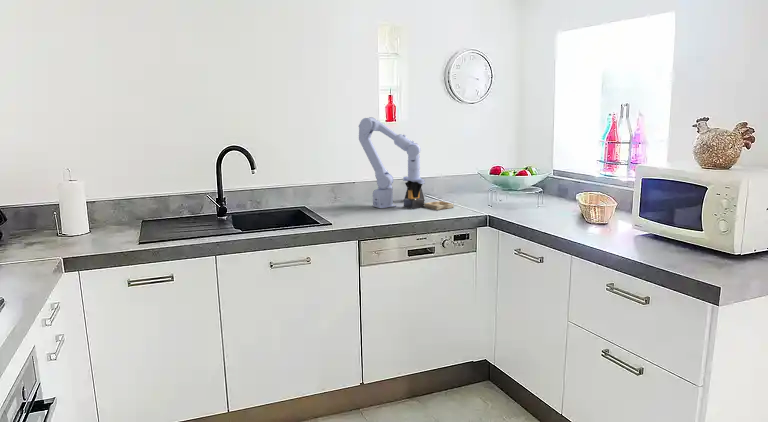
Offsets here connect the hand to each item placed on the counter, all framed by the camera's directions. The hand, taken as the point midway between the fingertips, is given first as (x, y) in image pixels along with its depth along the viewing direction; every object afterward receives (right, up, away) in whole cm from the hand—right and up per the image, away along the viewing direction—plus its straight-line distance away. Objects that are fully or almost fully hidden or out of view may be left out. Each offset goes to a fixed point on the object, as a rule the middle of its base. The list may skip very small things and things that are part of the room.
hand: (413, 197), depth 277 cm
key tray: (+12, -5, -1) cm, 13 cm away
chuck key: (0, -5, +1) cm, 5 cm away
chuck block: (0, -5, +1) cm, 5 cm away
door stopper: (+1, -2, +18) cm, 18 cm away
